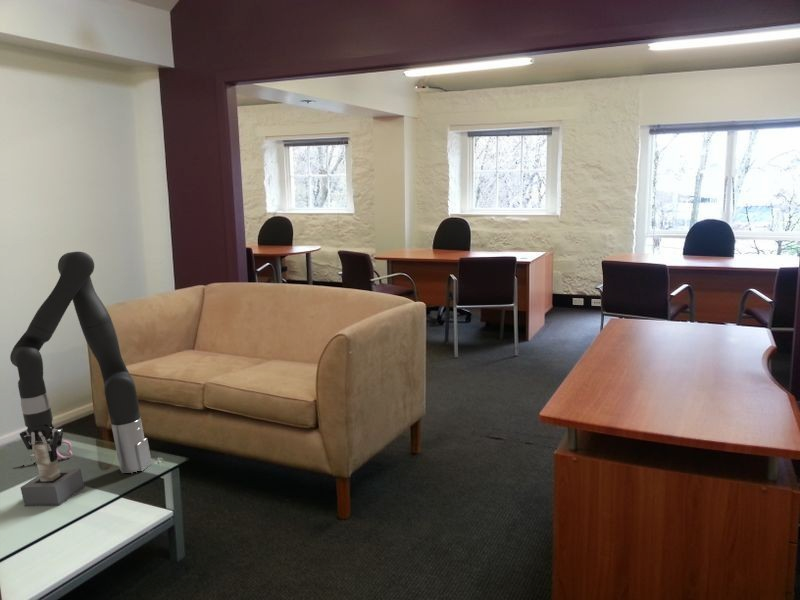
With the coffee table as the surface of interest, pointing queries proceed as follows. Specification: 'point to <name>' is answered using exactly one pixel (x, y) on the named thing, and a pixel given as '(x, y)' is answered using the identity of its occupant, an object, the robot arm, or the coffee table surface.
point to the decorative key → (66, 451)
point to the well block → (52, 489)
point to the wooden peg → (45, 463)
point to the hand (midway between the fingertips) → (47, 461)
